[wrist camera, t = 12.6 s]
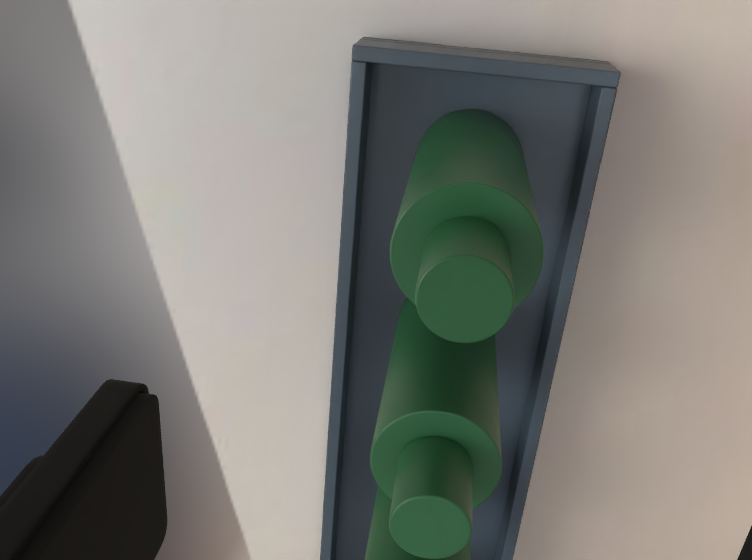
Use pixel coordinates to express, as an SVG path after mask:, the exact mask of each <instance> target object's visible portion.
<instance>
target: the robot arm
mask: <svg viewBox="0 0 752 560" xmlns="http://www.w3.org/2000/svg"><path fill="white" fill-rule="evenodd" d="M166 528H167V509H166V497H165V482H164V470H163V456H162V441H161V429H160V414H159V402H158V398H157V396H156V395H153V394H149V392H148V388H147V386H146V385H144V384H141V383H134V382H126V381H119V380H113V379H110V380H107V381H106V382H105V383H103V385H102V386H101V387H100V388H99V389H98V391H97V392H96V393H95V394H94V395H93V397H92V398H91V399H90V400H89V401H88V403H87V404H86V405H85V406H84V408H83V409H82V410H81V411H80V412H79V414H78V415H77V416H76V417H75V418H74V420H73V421H72V422H71V423H70V424H69V426H68V427H67V428H66V429H65V431H64V432H63V433H62V434H61V435H60V436H59V438H58V439H57V440H56V441H55V443H54V444H53V445H52V446H51V447H50V449H49V450H48V451H47V452H46V453H45V455H44V456H39V457H36V458H34V459H33V460H32V461H31V462H30V463H29V464H27V466H26V467H25V468H24V469H23V470H22V471H21V472H20V474H19V475H18V476H17V477H16V479H15V480H14V481H13V482H12V483H11V484H10V486H9V487H8V488H7V489H6V490H5V491H4V493H3V494H2V495H1V496H0V560H154V559H155V557H156V555H157V553H158V551H159V549H160V547H161V545H162V543H163V540H164V537H165V534H166ZM738 560H752V526H751V529H750V531H749V533H748V536H747V538H746V541H745V543H744V545H743V548H742V550H741V552H740V555H739V557H738Z"/></svg>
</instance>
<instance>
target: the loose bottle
mask: <svg viewBox="0 0 752 560" xmlns="http://www.w3.org/2000/svg"><path fill="white" fill-rule="evenodd" d="M543 259H544V245H543V239H542V234H541V230H540V225H539V221H538V217H537V213H536V208H535V204H534V200H533V195H532V191H531V187H530V182H529V178H528V174H527V169H526V165H525V161H524V156H523V152H522V148H521V145H520V142H519V139H518V137H517V135H516V134H515V132H514V131H513V129H512V128H511V127H510V126H509V125H508V124H507V123H506V122H505V121H504V120H503V119H501V118H500V117H498V116H496V115H494V114H492V113H490V112H487V111H484V110H478V109H462V110H457V111H454V112H451V113H448V114H446V115H444V116H442V117H441V118H439V119H438V120H436V121H435V122H434V123H433V124H432V125H431V126H430V127H429V128H428V129H427V130H426V132H425V133H424V135H423V136H422V138H421V140H420V142H419V145H418V148H417V152H416V155H415V159H414V162H413V165H412V169H411V172H410V176H409V179H408V183H407V186H406V189H405V193H404V196H403V200H402V203H401V207H400V210H399V213H398V217H397V220H396V224H395V227H394V231H393V234H392V237H391V243H390V262H391V267H392V271H393V274H394V277H395V279H396V281H397V283H398V285H399V287H400V288H401V290H402V291H403V293H404V294H405V295H406V296H407V298H408V299H409V300H410V301H411V302H412V303H413V304H415V305H416V309H417V312H418V314H419V316H420V318H421V320H422V321H423V323H424V324H425V325H426V326H427V327H428V328H429V329H430V330H431V331H432V332H433V333H435V334H436V335H438V336H439V337H441V338H444V339H446V340H449V341H452V342H458V343H473V342H478V341H482V340H484V339H487V338H489V337H491V336H493V335H494V334H496V333H497V332H498V331H500V330H501V329H502V328H503V327H504V326H505V324H506V323H507V322H508V320H509V318H510V317H511V314H512V312H513V309H514V308H515V307H516V306H518V305H519V304H520V303H521V302H522V301H523V300H524V299H525V298H526V297H527V296H528V295H529V294H530V292H531V291H532V289H533V288H534V286H535V285H536V283H537V281H538V278H539V276H540V273H541V270H542V266H543Z"/></svg>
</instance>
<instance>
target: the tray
mask: <svg viewBox="0 0 752 560" xmlns="http://www.w3.org/2000/svg"><path fill="white" fill-rule="evenodd" d="M352 60H353V61H352V65H351V81H350V96H349V112H348V128H347V144H346V159H345V175H344V191H343V207H342V223H341V238H340V254H339V270H338V286H337V301H336V317H335V333H334V349H333V365H332V380H331V396H330V412H329V428H328V443H327V459H326V475H325V491H324V507H323V522H322V538H321V554H320V560H365V554H366V549H367V543H368V538H369V532H370V527H371V521H372V516H373V510H374V505H375V499H376V494H377V488H378V484H377V482H376V480H375V478H374V476H373V473H372V470H371V465H370V452H371V447H372V442H373V437H374V433H375V428H376V423H377V418H378V413H379V409H380V404H381V399H382V394H383V389H384V385H385V380H386V375H387V370H388V366H389V361H390V356H391V351H392V346H393V342H394V337H395V332H396V327H397V323H398V318H399V313H400V310H401V307H402V305H403V303H404V301H405V300H406V299H407V296H406V295H405V294H404V293H403V291H402V290H401V288H400V287H399V285H398V283H397V281H396V279H395V277H394V274H393V271H392V267H391V262H390V243H391V237H392V234H393V231H394V227H395V224H396V220H397V217H398V213H399V210H400V207H401V203H402V200H403V196H404V193H405V189H406V186H407V183H408V179H409V176H410V172H411V169H412V165H413V162H414V159H415V155H416V152H417V148H418V145H419V142H420V140H421V138H422V136H423V135H424V133H425V132H426V130H427V129H428V128H429V127H430V126H431V125H432V124H433V123H434V122H435V121H436V120H438V119H439V118H441V117H442V116H444V115H446V114H448V113H451V112H454V111H457V110H462V109H478V110H484V111H487V112H490V113H492V114H494V115H496V116H498V117H500V118H501V119H503V120H504V121H505V122H506V123H507V124H508V125H509V126H510V127H511V128H512V129H513V131H514V132H515V134H516V135H517V137H518V139H519V142H520V145H521V148H522V152H523V156H524V161H525V165H526V169H527V174H528V178H529V182H530V187H531V191H532V195H533V200H534V204H535V208H536V213H537V217H538V221H539V225H540V230H541V234H542V239H543V245H544V259H543V266H542V270H541V273H540V276H539V278H538V281H537V283H536V285H535V286H534V288H533V289H532V291H531V292H530V294H529V295H528V296H527V297H526V298H525V299H524V300H523V301H522V302H521V303H520V304H519V305H518V306H516V307H515V308H514V309H513V312H512V314H511V317H510V318H509V320H508V322H507V323H506V324H505V326H504V327H503V328H502V329H501V330H500V331H498V332H497V333H496V334H495V341H496V361H497V380H498V400H499V420H500V439H501V459H502V471H501V476H500V480H499V482H498V484H497V486H496V488H495V489H494V491H493V492H492V494H491V495H490V496H489V497H488V498H487V499H486V500H485V501H483V502H482V503H481V504H479V505H478V506H476V507H474V508H472V535H471V560H512V559H513V554H514V550H515V545H516V541H517V536H518V532H519V528H520V523H521V519H522V514H523V510H524V505H525V501H526V496H527V492H528V487H529V483H530V478H531V474H532V469H533V465H534V460H535V456H536V451H537V447H538V442H539V438H540V433H541V429H542V424H543V420H544V415H545V411H546V406H547V402H548V397H549V393H550V388H551V384H552V379H553V375H554V370H555V366H556V361H557V357H558V352H559V348H560V344H561V339H562V335H563V330H564V326H565V321H566V317H567V312H568V308H569V303H570V299H571V294H572V290H573V285H574V281H575V276H576V272H577V267H578V263H579V258H580V254H581V249H582V245H583V240H584V236H585V231H586V227H587V222H588V218H589V213H590V209H591V204H592V200H593V195H594V191H595V186H596V182H597V177H598V173H599V168H600V164H601V160H602V155H603V151H604V146H605V142H606V137H607V133H608V128H609V124H610V119H611V115H612V110H613V106H614V101H615V97H616V92H617V87H618V83H619V79H620V74H621V73H620V71H618V70H617V69H616V68H615V67H614V66H612V65H611V64H610V63H609V62H608V61H598V60H588V59H578V58H568V57H558V56H548V55H538V54H528V53H518V52H508V51H498V50H488V49H478V48H468V47H458V46H448V45H438V44H428V43H418V42H408V41H398V40H388V39H378V38H368V37H363V38H362V39H360V40H359V41H358V42H357V43H355V44H354V45H353V48H352Z"/></svg>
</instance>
